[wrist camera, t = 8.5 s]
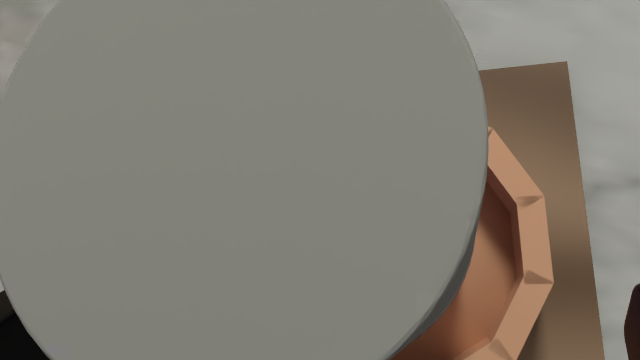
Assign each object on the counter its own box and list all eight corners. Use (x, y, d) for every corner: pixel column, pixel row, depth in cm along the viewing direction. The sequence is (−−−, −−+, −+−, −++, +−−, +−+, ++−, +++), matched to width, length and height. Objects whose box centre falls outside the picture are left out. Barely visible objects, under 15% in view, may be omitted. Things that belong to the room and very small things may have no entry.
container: (481, 306, 18) (611, 365, 4) (345, 341, 19) (-4, 508, 4) (437, 173, 19) (401, -190, 5) (311, 211, 20) (-49, -1, 5)
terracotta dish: (551, 396, 17) (568, 412, 15) (265, 392, 19) (239, 405, 17) (521, 110, 19) (532, 85, 17) (265, 133, 21) (242, 113, 19)
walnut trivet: (612, 451, 17) (617, 456, 17) (225, 438, 20) (220, 441, 19) (563, 67, 20) (567, 61, 19) (230, 101, 23) (225, 97, 22)
